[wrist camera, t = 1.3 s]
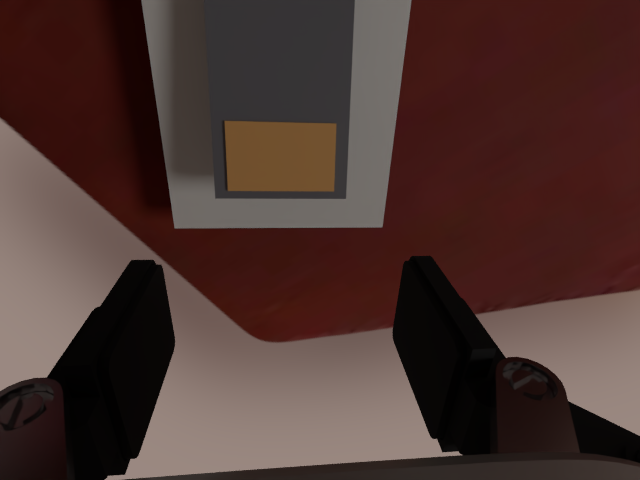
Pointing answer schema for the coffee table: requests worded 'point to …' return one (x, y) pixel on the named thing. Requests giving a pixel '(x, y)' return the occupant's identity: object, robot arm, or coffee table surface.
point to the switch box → (195, 122)
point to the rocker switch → (279, 97)
